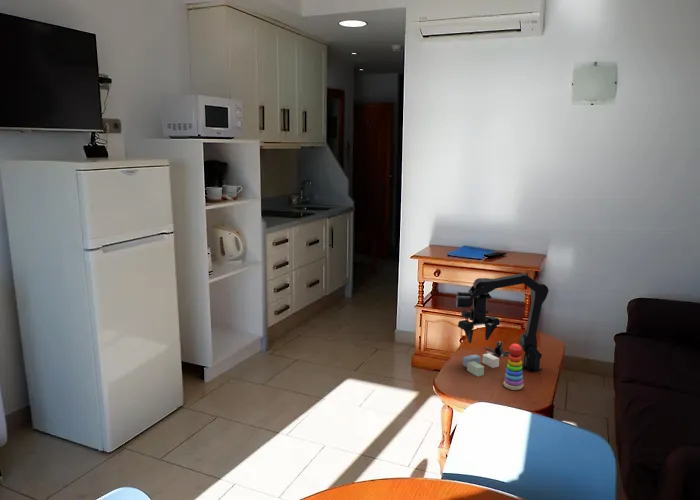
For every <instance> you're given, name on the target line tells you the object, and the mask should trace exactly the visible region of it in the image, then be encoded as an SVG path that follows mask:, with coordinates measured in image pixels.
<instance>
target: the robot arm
mask: <svg viewBox="0 0 700 500" xmlns="http://www.w3.org/2000/svg"><path fill="white" fill-rule="evenodd" d="M518 285H525V286H526V287H528V289H530V299H531V302H530V303H531V304H530V307H529V313H528V319H527V323H526V328H525V331H524V333H523V334H522V333H520V334H519V340H518V343H519V345H520V346H521V348H522V351H523V352H524V356H523V363H522V369H524V370H526V371H528V372H530V373H535V372H538V371H542V370H543V368H542V367H540V363H541V358H542V356H543V354H542V353H541V351H540V350H539V349H538V340H537V332H538V328H539V321H540V317H541V312H542V306H543V304H544V302H545V301H546V299H547V297H548V294H549V288H548V286H547V285H546V284H545V283H543V282H542V281H540V280H535V279H533V278H532V277H530V276H529V275H528V274H526V273H525V272H521V273H517V274H513V275H508V276H501V277H495V278H489V277H488V278H487V277H484V278H483V277H479V278H478V277H477V278H476V279H475V280H474V281H473V285H472V286H471V287H470V288H469V289H468V292H466V291H465V292H461V291H457V293H456V297H455V307H456V308H458V309H460V308H467V309H465V310H461V318H462V320H459V321H458V322H457V327H458V328H460V329H461V330H463V331H464V333H465V335H466V339H467V341H468V344H471V343H472V341H473V335H474V331H475V330H474V327H476V326H481V325H484V327H485V330H484V331H485V333H484V335H485V336H484V337H485V338H484V339H485V341H488V340H489V339H490V337H491V335H492V334H493V332H494V330H495V329H496V328H498V326H500V324H501V321H500V319H499V318H498V317H496V316H494V315H487V314H489V310H487V308H488V307H487V305H488V303H487V302H488V300H490V299H493V296H492V295H491V294H490V293H491V292H493V291H495V290H496V289H502V288H506V287H513V286H518ZM472 306H473V307H472ZM471 307H472V308H471ZM469 308H470V311H468V309H469ZM463 319H464V320H463Z"/></svg>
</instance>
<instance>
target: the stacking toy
mask: <svg viewBox="0 0 700 500" xmlns="http://www.w3.org/2000/svg"><path fill="white" fill-rule="evenodd" d="M508 351H509V352H510V355H509V356H508V359H507V365H506V368H505V373H504V381H503V386H504V387H505V388H506V389H509V390H513V391H520V390H522V389H523V388H524V378H523V377H524V376H523V368H522V366H523V361H522V356H521V354H522V353H523V349H522V348H521V346H520V343H519V344H518V343H511V345H510V346H509V347H508Z"/></svg>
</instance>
